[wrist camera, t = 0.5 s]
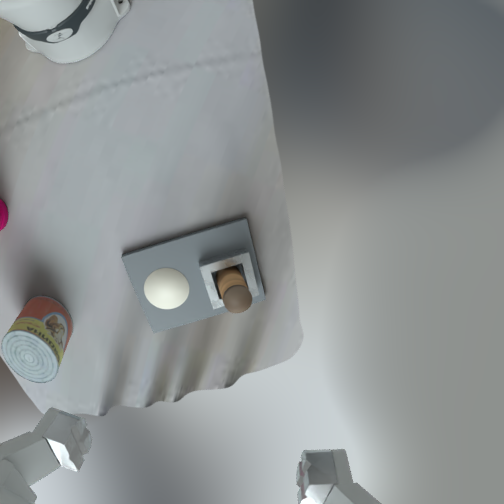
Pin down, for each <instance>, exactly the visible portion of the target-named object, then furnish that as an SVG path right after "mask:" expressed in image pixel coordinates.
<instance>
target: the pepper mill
mask: <svg viewBox="0 0 504 504" xmlns="http://www.w3.org/2000/svg"><path fill="white" fill-rule="evenodd" d="M7 221H8V211H7V207H6V205H5V204H4V202H3V201H2V200H1V199H0V231H1V230H2V229H3V228H4V227H5V226H6V224H7Z"/></svg>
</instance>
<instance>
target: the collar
mask: <svg viewBox="0 0 504 504" xmlns="http://www.w3.org/2000/svg"><path fill="white" fill-rule="evenodd" d="M237 264H241V266H242V270H243V274H244V278H245V281H246V285H247V287H248V289H249V291H250V293H251V295H252V297H255V296H258V295H259V292H258V288H257V284H256V280H255V276H254V271H253V267H252V263H251V259H250V255H249V252H248V250H247V249H246V247H245V248H242V249H239V250H235V251H232V252H229V253H225V254H222V255H219V256H215V257H212V258H209V259H206V260H202V261H199V267H200V270H201V273H202V276H203V279H204V283H205V286H206V289H207V292H208V295H209V298H210V301H211V304H212V307H213V309H217V308H220V307H223V306H224V303H223V300H222V297H221V293H217V290H216V287H215V284H214V281H213V278H212V274H211V272H214V271H218V270H221V269H224V268H228V267H231V266H234V265H237Z"/></svg>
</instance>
